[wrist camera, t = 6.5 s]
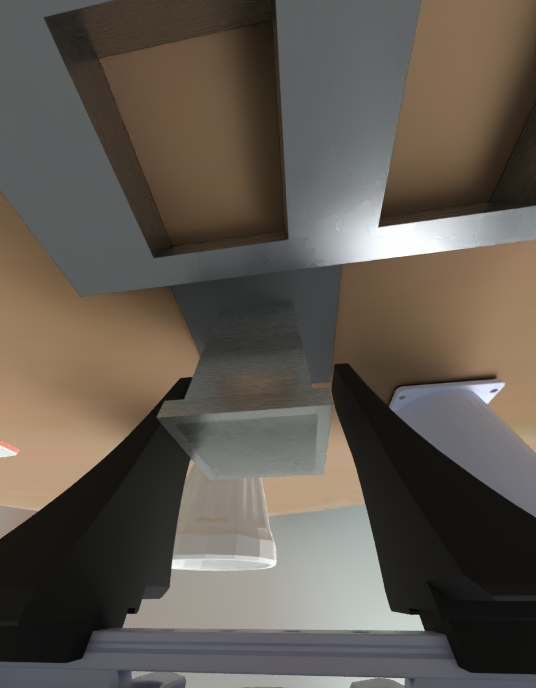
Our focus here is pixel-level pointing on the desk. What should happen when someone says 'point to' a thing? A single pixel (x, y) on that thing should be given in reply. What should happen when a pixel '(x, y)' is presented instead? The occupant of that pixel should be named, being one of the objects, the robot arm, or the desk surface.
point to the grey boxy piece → (252, 400)
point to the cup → (223, 525)
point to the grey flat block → (294, 134)
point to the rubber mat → (269, 290)
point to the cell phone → (7, 449)
